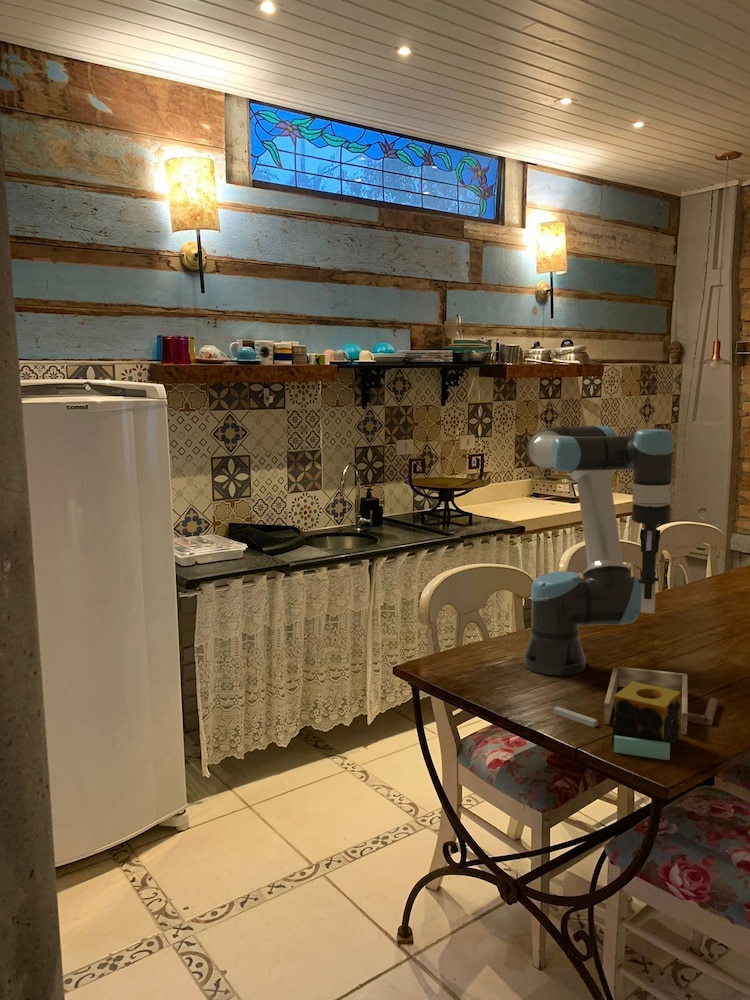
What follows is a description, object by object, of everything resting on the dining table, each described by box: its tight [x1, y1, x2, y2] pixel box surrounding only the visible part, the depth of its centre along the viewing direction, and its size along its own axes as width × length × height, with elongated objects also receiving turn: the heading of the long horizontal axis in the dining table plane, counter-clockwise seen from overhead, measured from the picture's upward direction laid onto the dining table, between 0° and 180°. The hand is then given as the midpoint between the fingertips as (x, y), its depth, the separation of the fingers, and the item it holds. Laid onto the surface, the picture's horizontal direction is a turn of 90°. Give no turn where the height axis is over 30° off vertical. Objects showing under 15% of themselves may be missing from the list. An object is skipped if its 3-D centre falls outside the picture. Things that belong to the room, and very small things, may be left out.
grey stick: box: [552, 706, 599, 728], centre depth 165 cm, size 2×10×2 cm, turn 42°
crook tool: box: [687, 697, 719, 726], centre depth 167 cm, size 5×12×2 cm, turn 151°
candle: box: [611, 681, 682, 748], centre depth 154 cm, size 10×10×10 cm
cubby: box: [603, 666, 688, 736], centre depth 170 cm, size 16×23×4 cm
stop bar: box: [613, 735, 671, 761], centre depth 148 cm, size 10×1×3 cm, turn 68°
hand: (647, 611), depth 167 cm, fingers closed
